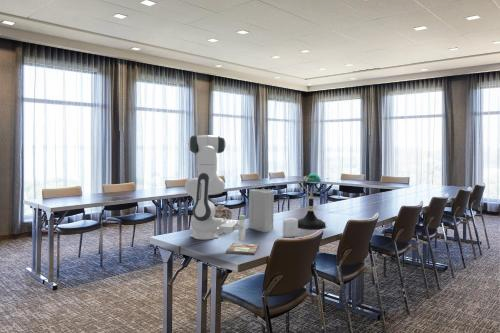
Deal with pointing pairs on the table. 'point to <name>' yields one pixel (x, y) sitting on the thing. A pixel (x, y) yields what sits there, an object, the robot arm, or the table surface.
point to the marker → (243, 227)
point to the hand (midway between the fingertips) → (243, 227)
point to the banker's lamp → (310, 218)
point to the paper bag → (261, 209)
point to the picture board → (242, 248)
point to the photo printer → (290, 227)
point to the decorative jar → (222, 212)
